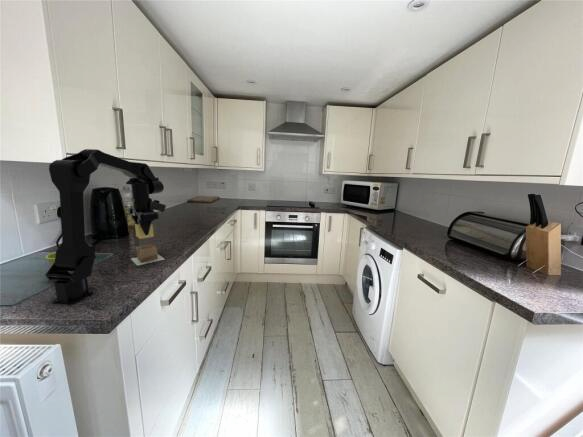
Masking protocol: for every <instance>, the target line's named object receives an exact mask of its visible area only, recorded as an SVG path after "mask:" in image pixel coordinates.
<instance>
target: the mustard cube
mask: <svg viewBox="0 0 583 437" xmlns="http://www.w3.org/2000/svg"><path fill="white" fill-rule="evenodd" d="M134 226H135V227H134V230H135V236H136V238H137V239H140V240H142V239H147V238H153V237H154V235H155V234H154V225H153V223H151V225H150V230H149V234H148V235H145V234H144V232H143V230H142V228H141V227H140V225H139V224H136V223H135V224H134Z"/></svg>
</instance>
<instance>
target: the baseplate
mask: <svg viewBox="0 0 583 437" xmlns="http://www.w3.org/2000/svg"><path fill="white" fill-rule="evenodd" d="M130 260H131V261H132V262H133V263H134V264H135V265H136V266H142V265H146V264H150V263H155V262H159V261H163V260H164V261H165V258H164V257H163V256H162V255H160V254H158V259H156V260H152V261H147V262H143V263H141V262H140V261H139V260H138V259H137V256H136V257H132V258H130Z"/></svg>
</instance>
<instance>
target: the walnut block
mask: <svg viewBox="0 0 583 437" xmlns="http://www.w3.org/2000/svg"><path fill="white" fill-rule="evenodd" d="M136 257H137V259H138V260H139V261H140V262H141V263H143V262H147V261H152V260H156V259H158V248H157V246H155V245H154V244H147V245H140V246H136Z"/></svg>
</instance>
